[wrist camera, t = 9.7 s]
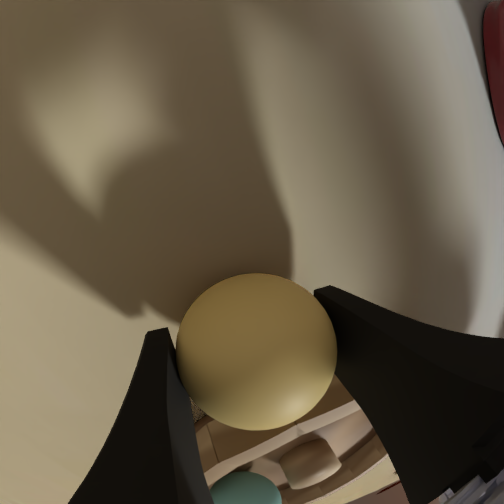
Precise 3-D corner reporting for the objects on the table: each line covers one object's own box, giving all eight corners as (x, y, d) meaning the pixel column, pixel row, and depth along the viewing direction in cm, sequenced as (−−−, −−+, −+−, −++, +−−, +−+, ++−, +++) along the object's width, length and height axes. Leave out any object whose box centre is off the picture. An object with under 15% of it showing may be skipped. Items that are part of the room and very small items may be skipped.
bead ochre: (294, 234, 10) (385, 311, 6) (294, 338, 12) (353, 422, 8) (153, 264, 9) (164, 380, 5) (184, 368, 11) (211, 472, 7)
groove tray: (437, 306, 15) (468, 330, 13) (376, 444, 23) (389, 463, 21) (113, 412, 10) (115, 465, 8) (200, 508, 19) (208, 532, 16)
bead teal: (267, 452, 15) (295, 513, 11) (267, 476, 17) (290, 525, 13) (193, 469, 13) (211, 534, 9) (206, 490, 15) (222, 542, 11)
